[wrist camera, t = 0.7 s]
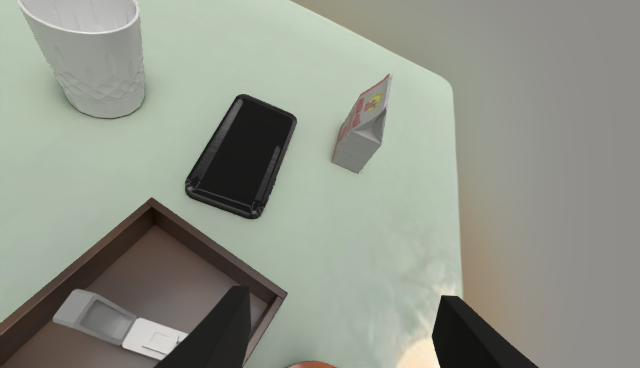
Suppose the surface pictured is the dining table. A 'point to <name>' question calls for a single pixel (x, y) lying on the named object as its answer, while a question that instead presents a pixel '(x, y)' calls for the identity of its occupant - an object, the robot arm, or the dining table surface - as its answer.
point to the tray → (136, 292)
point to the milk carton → (363, 128)
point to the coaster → (311, 365)
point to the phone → (242, 157)
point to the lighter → (116, 325)
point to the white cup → (92, 51)
